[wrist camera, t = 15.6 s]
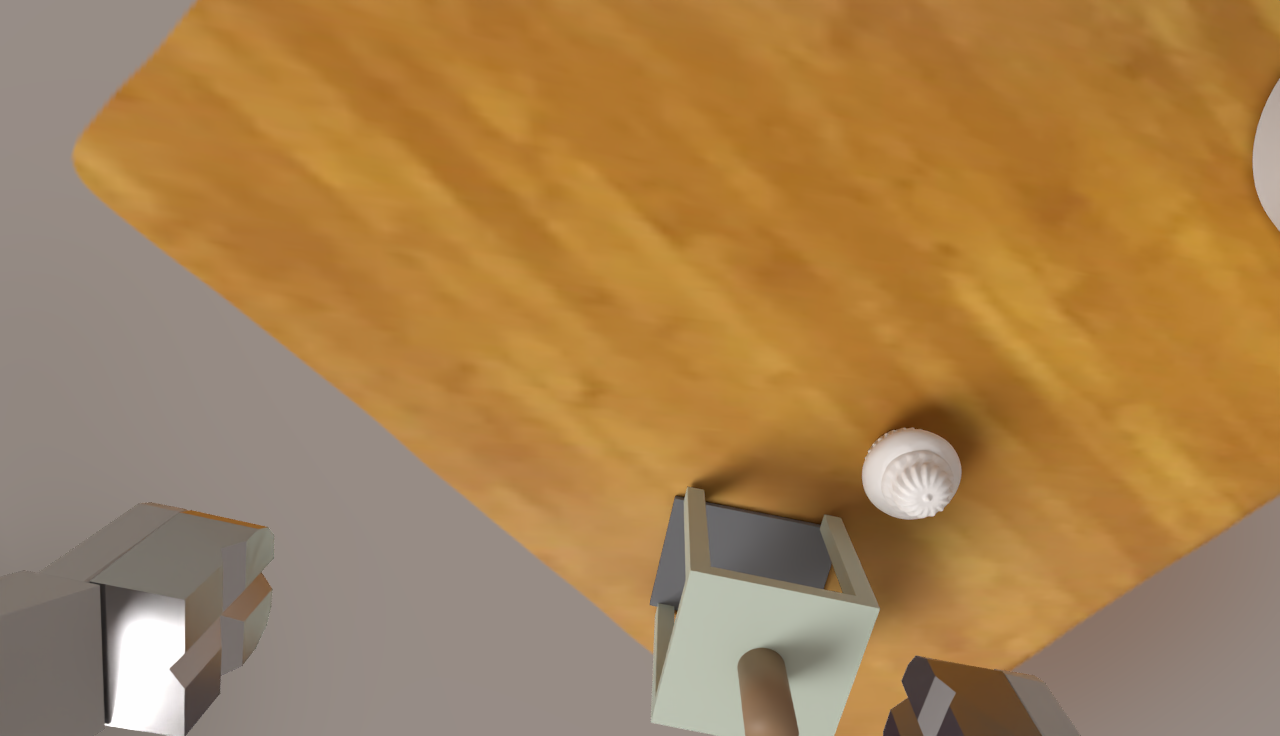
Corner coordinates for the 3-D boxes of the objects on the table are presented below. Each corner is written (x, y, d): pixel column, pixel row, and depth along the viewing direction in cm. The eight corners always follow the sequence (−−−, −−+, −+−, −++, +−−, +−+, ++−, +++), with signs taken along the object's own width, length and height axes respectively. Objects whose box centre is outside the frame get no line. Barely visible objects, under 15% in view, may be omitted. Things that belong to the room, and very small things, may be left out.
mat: (840, 528, 52) (841, 531, 52) (807, 632, 55) (808, 636, 55) (675, 495, 52) (675, 498, 52) (650, 601, 55) (649, 605, 55)
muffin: (842, 421, 50) (868, 466, 43) (934, 400, 49) (975, 442, 43) (858, 500, 52) (886, 555, 45) (947, 481, 51) (988, 534, 44)
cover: (840, 517, 52) (906, 670, 37) (799, 645, 55) (844, 830, 41) (687, 486, 51) (692, 627, 37) (654, 616, 55) (648, 792, 40)
